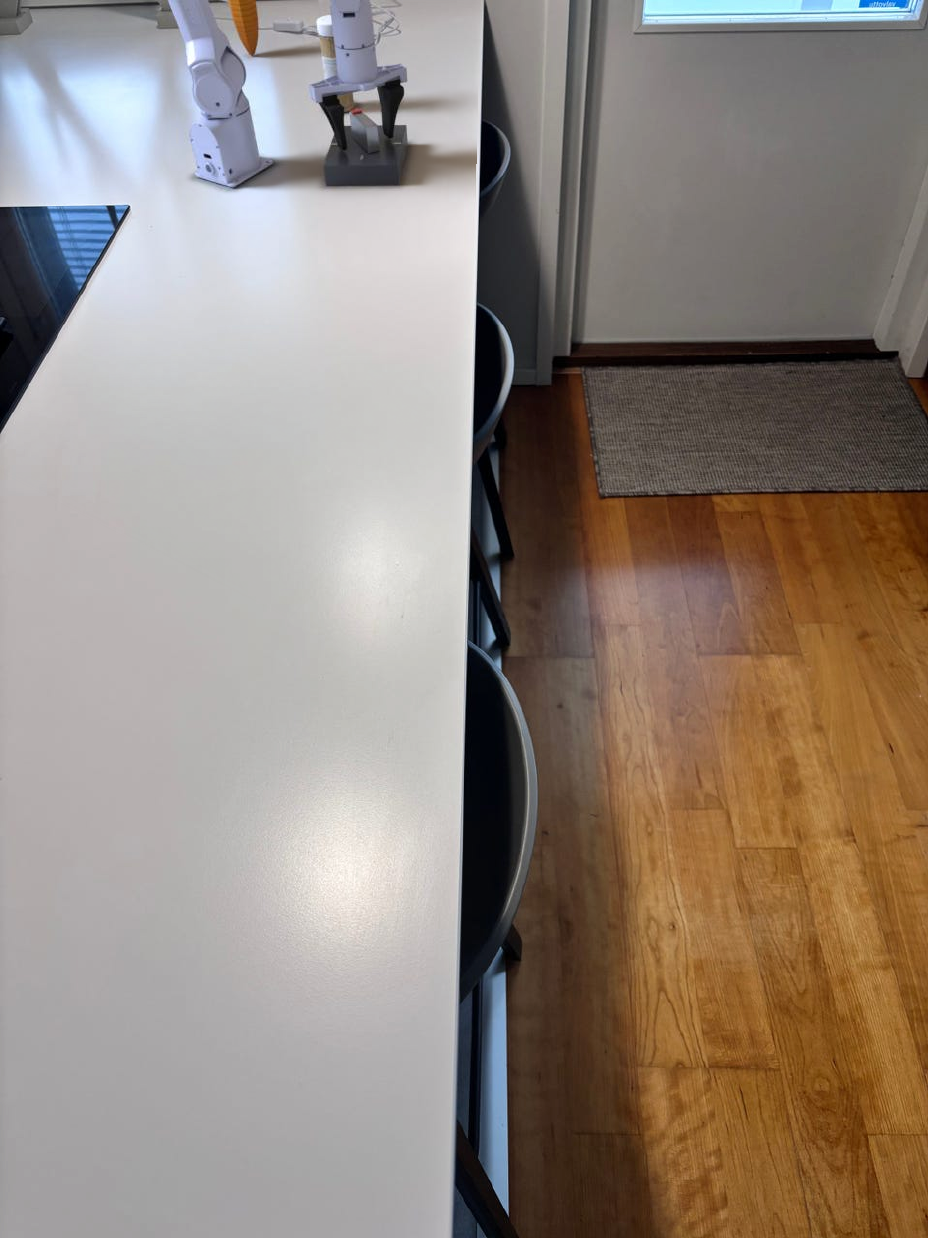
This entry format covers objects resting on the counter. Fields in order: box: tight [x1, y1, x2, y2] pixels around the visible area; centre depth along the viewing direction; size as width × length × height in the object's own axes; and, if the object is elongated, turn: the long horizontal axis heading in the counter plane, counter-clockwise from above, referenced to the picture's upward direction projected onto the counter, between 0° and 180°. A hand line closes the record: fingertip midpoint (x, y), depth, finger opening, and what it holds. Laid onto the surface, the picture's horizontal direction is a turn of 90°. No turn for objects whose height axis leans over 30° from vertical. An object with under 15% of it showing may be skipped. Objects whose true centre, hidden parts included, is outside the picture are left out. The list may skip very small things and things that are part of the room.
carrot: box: [227, 0, 259, 57], centre depth 173 cm, size 5×5×15 cm
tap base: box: [322, 124, 409, 187], centre depth 145 cm, size 14×11×3 cm
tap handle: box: [348, 108, 380, 153], centre depth 143 cm, size 6×2×4 cm, turn 27°
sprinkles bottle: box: [316, 14, 356, 113], centre depth 156 cm, size 5×5×13 cm
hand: (365, 141), depth 144 cm, fingers open, 7 cm apart
